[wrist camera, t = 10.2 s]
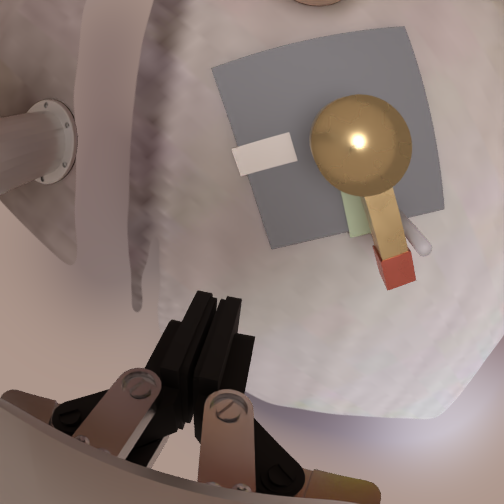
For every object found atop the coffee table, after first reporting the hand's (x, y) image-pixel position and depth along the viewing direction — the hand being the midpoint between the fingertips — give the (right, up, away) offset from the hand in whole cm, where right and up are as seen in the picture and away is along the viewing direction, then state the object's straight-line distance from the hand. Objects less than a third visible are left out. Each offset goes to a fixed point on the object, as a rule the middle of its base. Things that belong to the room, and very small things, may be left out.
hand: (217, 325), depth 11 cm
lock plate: (+11, +16, +19) cm, 27 cm away
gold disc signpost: (+12, +8, +13) cm, 19 cm away
